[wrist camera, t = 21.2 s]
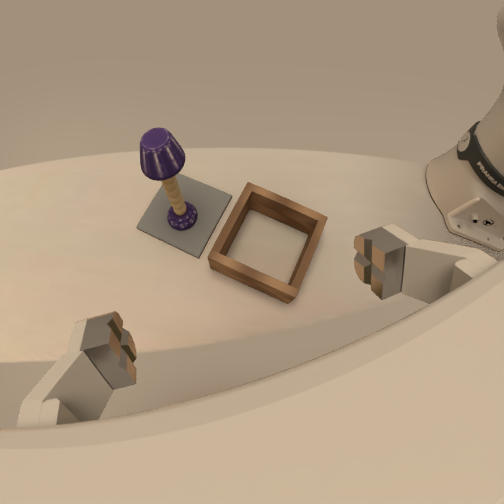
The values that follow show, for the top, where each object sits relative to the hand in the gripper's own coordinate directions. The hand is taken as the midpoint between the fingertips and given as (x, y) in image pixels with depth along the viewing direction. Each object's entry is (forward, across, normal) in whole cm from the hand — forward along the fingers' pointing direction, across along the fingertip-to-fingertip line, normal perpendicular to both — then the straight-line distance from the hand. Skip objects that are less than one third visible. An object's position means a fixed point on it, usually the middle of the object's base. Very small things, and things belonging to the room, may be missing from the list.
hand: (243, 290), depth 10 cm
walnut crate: (+27, -7, +14) cm, 32 cm away
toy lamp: (+33, +2, +8) cm, 34 cm away
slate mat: (+33, +2, +8) cm, 34 cm away
